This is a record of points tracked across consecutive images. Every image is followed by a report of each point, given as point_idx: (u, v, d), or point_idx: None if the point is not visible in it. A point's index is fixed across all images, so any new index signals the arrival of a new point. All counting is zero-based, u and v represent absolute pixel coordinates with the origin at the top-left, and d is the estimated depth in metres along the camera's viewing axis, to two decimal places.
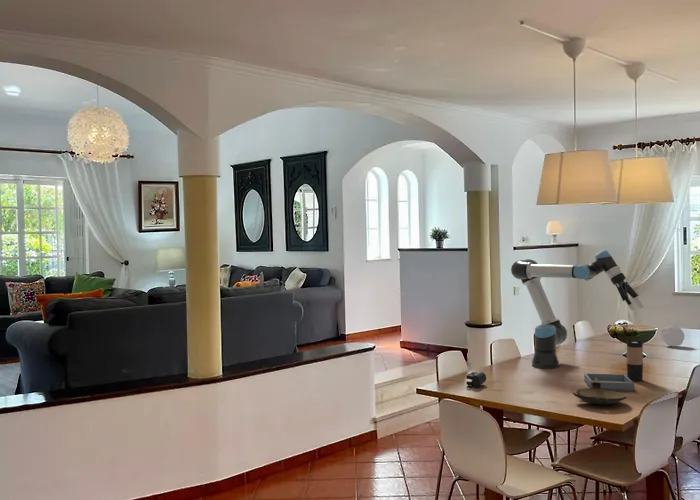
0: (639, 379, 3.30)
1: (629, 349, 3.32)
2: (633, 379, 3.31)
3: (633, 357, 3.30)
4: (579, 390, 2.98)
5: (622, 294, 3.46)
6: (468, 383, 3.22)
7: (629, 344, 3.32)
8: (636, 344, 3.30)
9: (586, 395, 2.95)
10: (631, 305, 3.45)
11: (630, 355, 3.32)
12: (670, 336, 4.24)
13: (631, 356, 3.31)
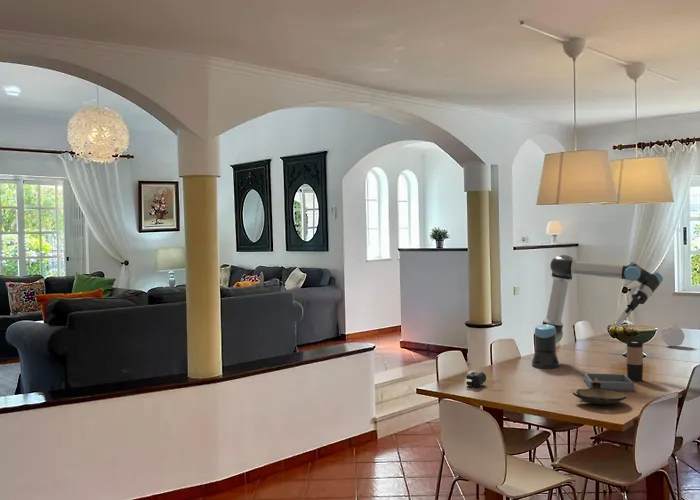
0: (639, 379, 3.30)
1: (629, 349, 3.32)
2: (633, 379, 3.31)
3: (633, 357, 3.30)
4: (579, 390, 2.98)
5: (634, 303, 3.41)
6: (468, 383, 3.22)
7: (629, 344, 3.32)
8: (636, 344, 3.30)
9: (586, 395, 2.95)
10: (625, 313, 3.41)
11: (630, 355, 3.32)
12: (670, 336, 4.24)
13: (631, 356, 3.31)
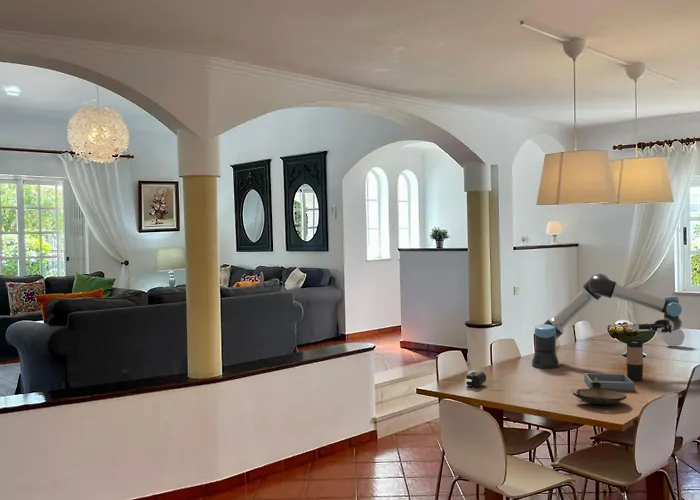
0: (639, 379, 3.30)
1: (629, 349, 3.32)
2: (633, 379, 3.31)
3: (633, 357, 3.30)
4: (579, 390, 2.98)
5: None
6: (468, 383, 3.22)
7: (629, 344, 3.32)
8: (636, 344, 3.30)
9: (586, 395, 2.95)
10: (660, 331, 3.35)
11: (630, 355, 3.32)
12: (670, 336, 4.24)
13: (631, 356, 3.31)
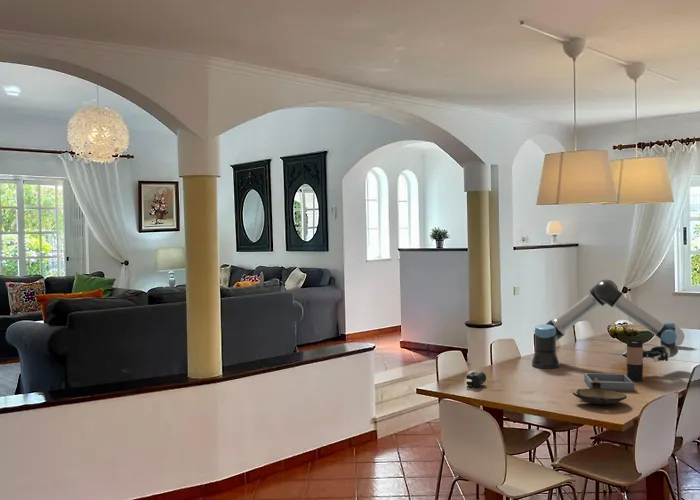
0: (639, 379, 3.30)
1: (629, 349, 3.32)
2: (633, 379, 3.31)
3: (633, 357, 3.30)
4: (579, 390, 2.98)
5: None
6: (468, 383, 3.22)
7: (629, 344, 3.32)
8: (636, 344, 3.30)
9: (586, 395, 2.95)
10: (657, 359, 3.33)
11: (630, 355, 3.32)
12: None
13: (631, 356, 3.31)
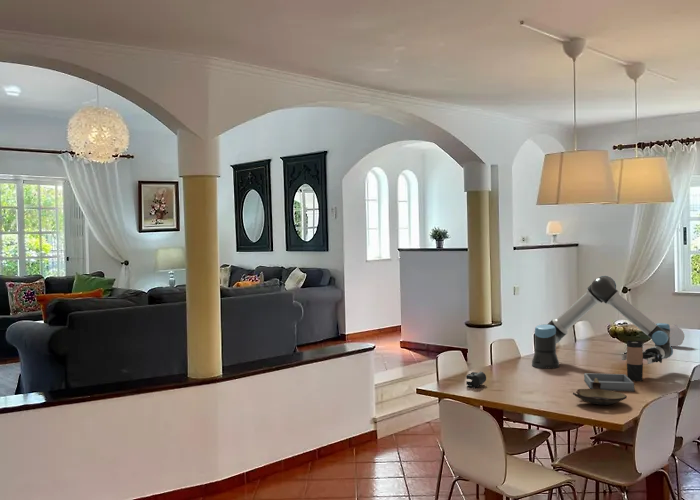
0: (639, 379, 3.30)
1: (629, 349, 3.32)
2: (633, 379, 3.31)
3: (633, 357, 3.30)
4: (579, 390, 2.98)
5: None
6: (468, 383, 3.22)
7: (629, 344, 3.32)
8: (636, 344, 3.30)
9: (586, 395, 2.95)
10: (651, 360, 3.29)
11: (630, 355, 3.32)
12: (670, 336, 4.24)
13: (631, 356, 3.31)
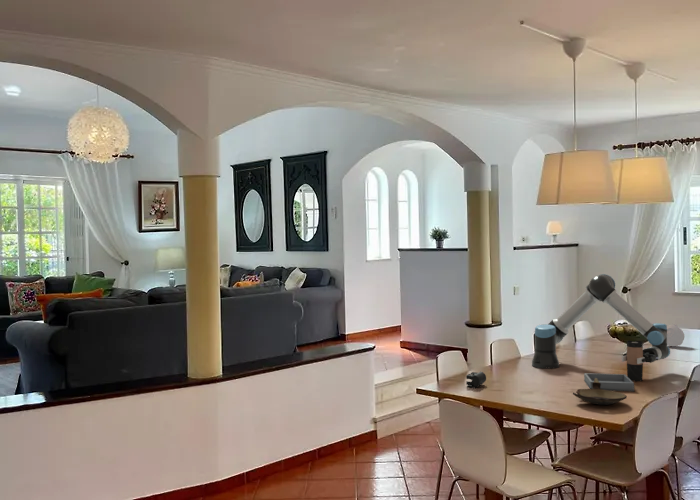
0: (639, 379, 3.30)
1: (629, 349, 3.32)
2: (633, 379, 3.31)
3: (633, 357, 3.30)
4: (579, 390, 2.98)
5: (652, 359, 3.31)
6: (468, 383, 3.22)
7: (629, 344, 3.32)
8: (636, 344, 3.30)
9: (586, 395, 2.95)
10: (640, 360, 3.29)
11: (630, 355, 3.32)
12: (670, 336, 4.24)
13: (631, 356, 3.31)
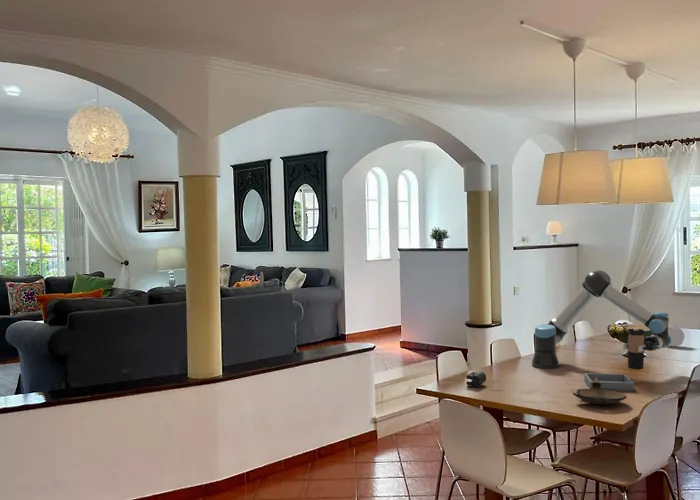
0: (640, 367, 3.30)
1: (630, 337, 3.32)
2: (634, 367, 3.31)
3: (635, 345, 3.30)
4: (579, 390, 2.98)
5: (653, 347, 3.31)
6: (468, 383, 3.22)
7: (630, 332, 3.31)
8: (637, 332, 3.29)
9: (586, 395, 2.95)
10: (642, 348, 3.28)
11: (631, 343, 3.31)
12: (670, 336, 4.24)
13: (632, 344, 3.31)
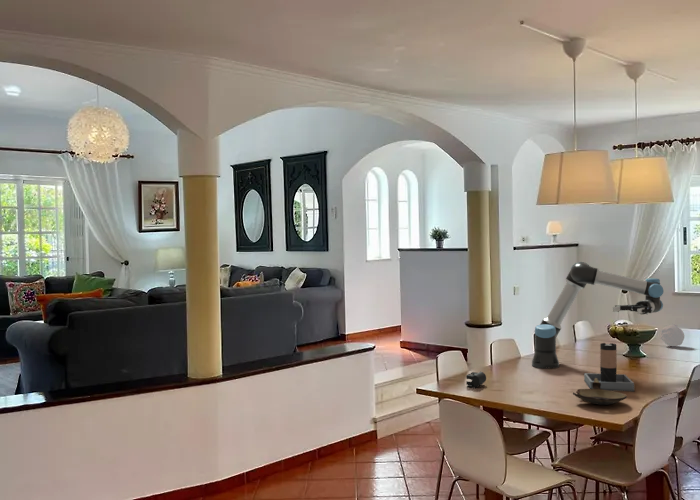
0: None
1: (602, 352, 3.20)
2: None
3: (607, 360, 3.18)
4: (579, 390, 2.98)
5: None
6: (468, 383, 3.22)
7: (602, 347, 3.19)
8: (609, 347, 3.17)
9: (586, 395, 2.95)
10: (640, 311, 3.41)
11: (603, 358, 3.19)
12: (670, 336, 4.24)
13: (604, 359, 3.19)
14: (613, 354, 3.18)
